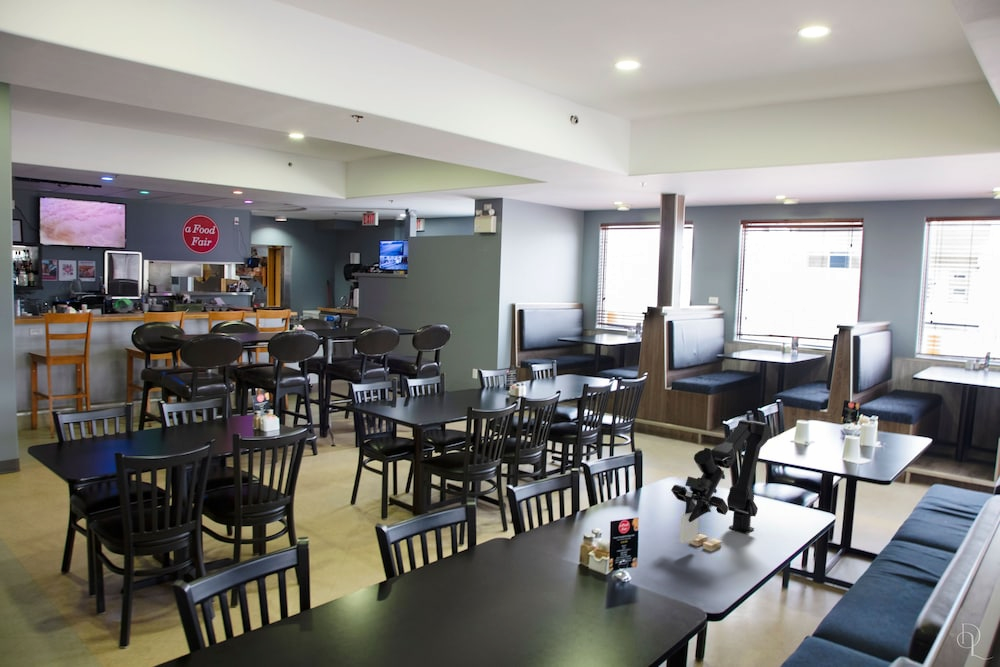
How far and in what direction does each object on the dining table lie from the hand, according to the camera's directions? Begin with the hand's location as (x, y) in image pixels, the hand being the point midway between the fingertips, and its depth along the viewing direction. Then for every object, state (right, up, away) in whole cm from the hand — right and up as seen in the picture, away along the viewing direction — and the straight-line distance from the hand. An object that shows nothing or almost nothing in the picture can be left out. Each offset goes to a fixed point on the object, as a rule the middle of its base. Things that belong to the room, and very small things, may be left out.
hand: (687, 520), depth 222 cm
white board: (+1, -7, +1) cm, 7 cm away
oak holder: (+8, -10, +8) cm, 16 cm away
